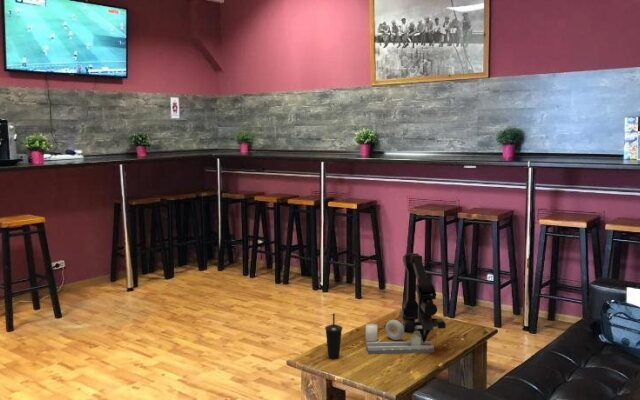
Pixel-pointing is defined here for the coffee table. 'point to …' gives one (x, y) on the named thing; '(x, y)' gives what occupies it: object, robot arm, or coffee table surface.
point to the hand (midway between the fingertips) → (423, 342)
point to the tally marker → (415, 340)
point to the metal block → (419, 334)
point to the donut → (398, 326)
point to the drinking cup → (333, 339)
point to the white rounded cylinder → (371, 332)
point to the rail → (398, 347)
